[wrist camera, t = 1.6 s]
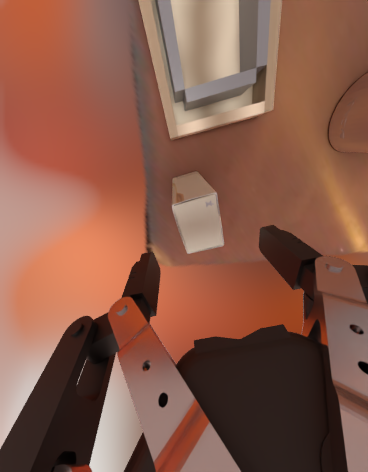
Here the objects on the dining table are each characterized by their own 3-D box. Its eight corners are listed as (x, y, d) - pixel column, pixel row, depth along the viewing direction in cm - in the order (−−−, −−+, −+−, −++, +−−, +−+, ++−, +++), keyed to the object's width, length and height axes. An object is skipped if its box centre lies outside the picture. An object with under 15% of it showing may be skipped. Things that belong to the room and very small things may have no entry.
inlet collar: (250, -88, 12) (281, -187, 8) (248, 93, 17) (266, 79, 14) (145, -49, 12) (134, -124, 9) (176, 113, 18) (177, 105, 15)
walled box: (264, -141, 11) (304, -271, 8) (255, 117, 19) (273, 110, 16) (119, -83, 12) (97, -177, 8) (171, 140, 20) (170, 138, 17)
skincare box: (171, 177, 23) (168, 201, 12) (197, 170, 22) (217, 188, 12) (182, 213, 26) (186, 256, 16) (205, 207, 26) (225, 246, 15)
